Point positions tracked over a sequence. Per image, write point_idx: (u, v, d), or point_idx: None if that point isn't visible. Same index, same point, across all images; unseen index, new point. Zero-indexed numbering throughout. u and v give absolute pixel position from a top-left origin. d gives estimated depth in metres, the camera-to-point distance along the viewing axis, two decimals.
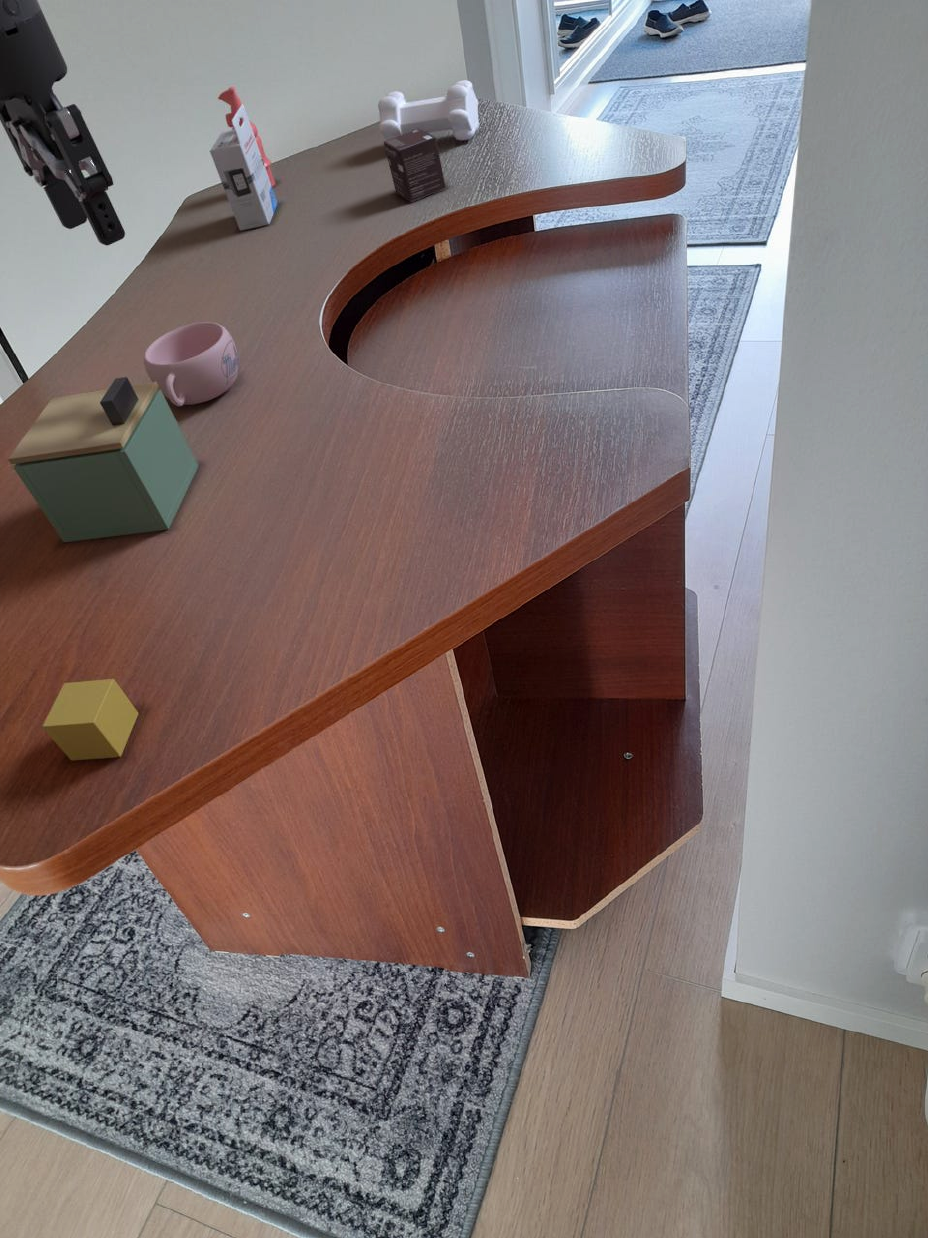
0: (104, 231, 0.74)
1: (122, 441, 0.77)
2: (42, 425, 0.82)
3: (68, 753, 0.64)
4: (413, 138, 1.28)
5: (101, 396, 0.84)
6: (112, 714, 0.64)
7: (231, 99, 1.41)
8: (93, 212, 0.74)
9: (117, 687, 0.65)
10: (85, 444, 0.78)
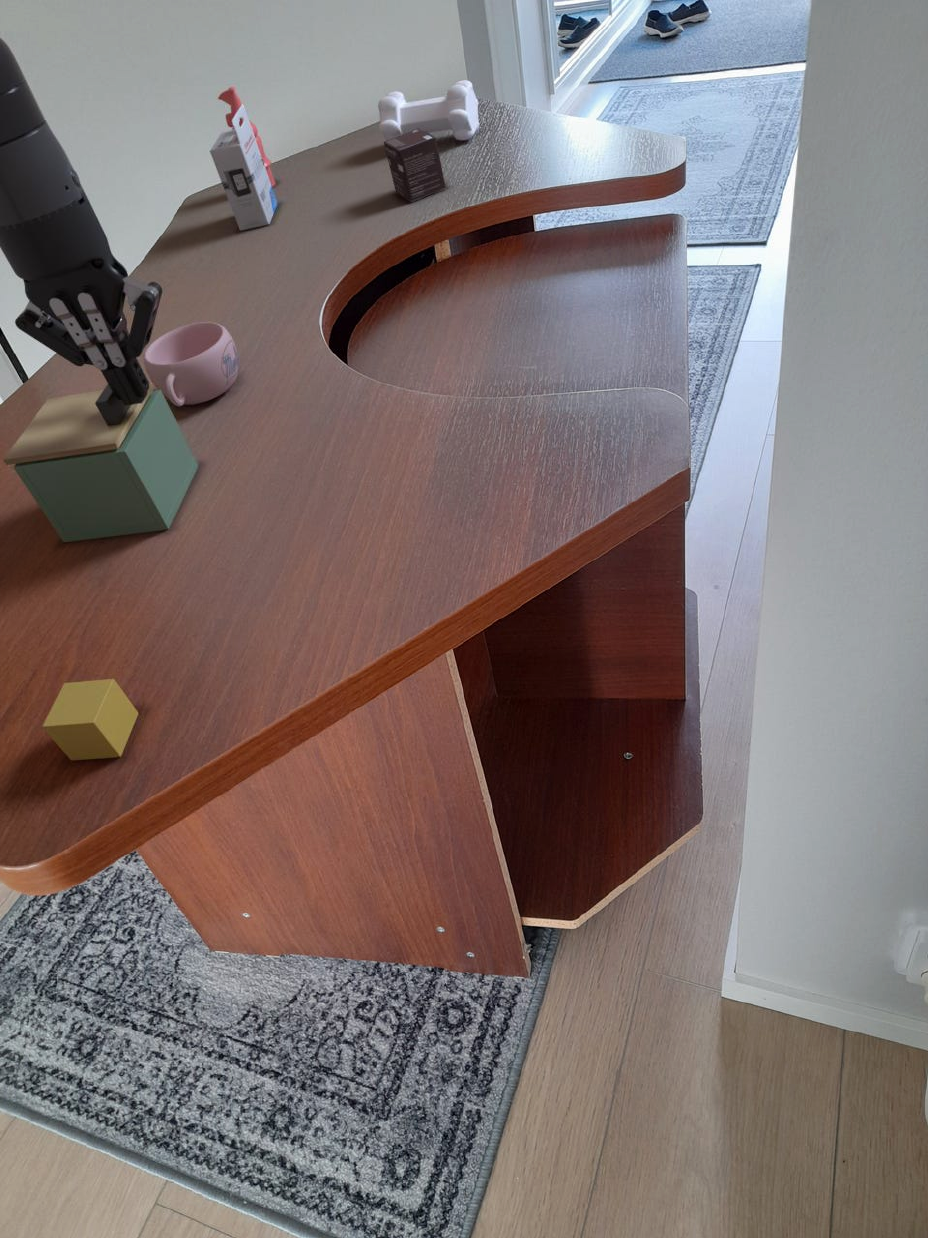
0: (142, 389, 0.78)
1: (117, 442, 0.77)
2: (38, 426, 0.82)
3: (68, 753, 0.64)
4: (412, 138, 1.28)
5: (97, 397, 0.84)
6: (112, 714, 0.64)
7: (231, 99, 1.41)
8: (130, 374, 0.77)
9: (117, 687, 0.65)
10: (80, 445, 0.78)
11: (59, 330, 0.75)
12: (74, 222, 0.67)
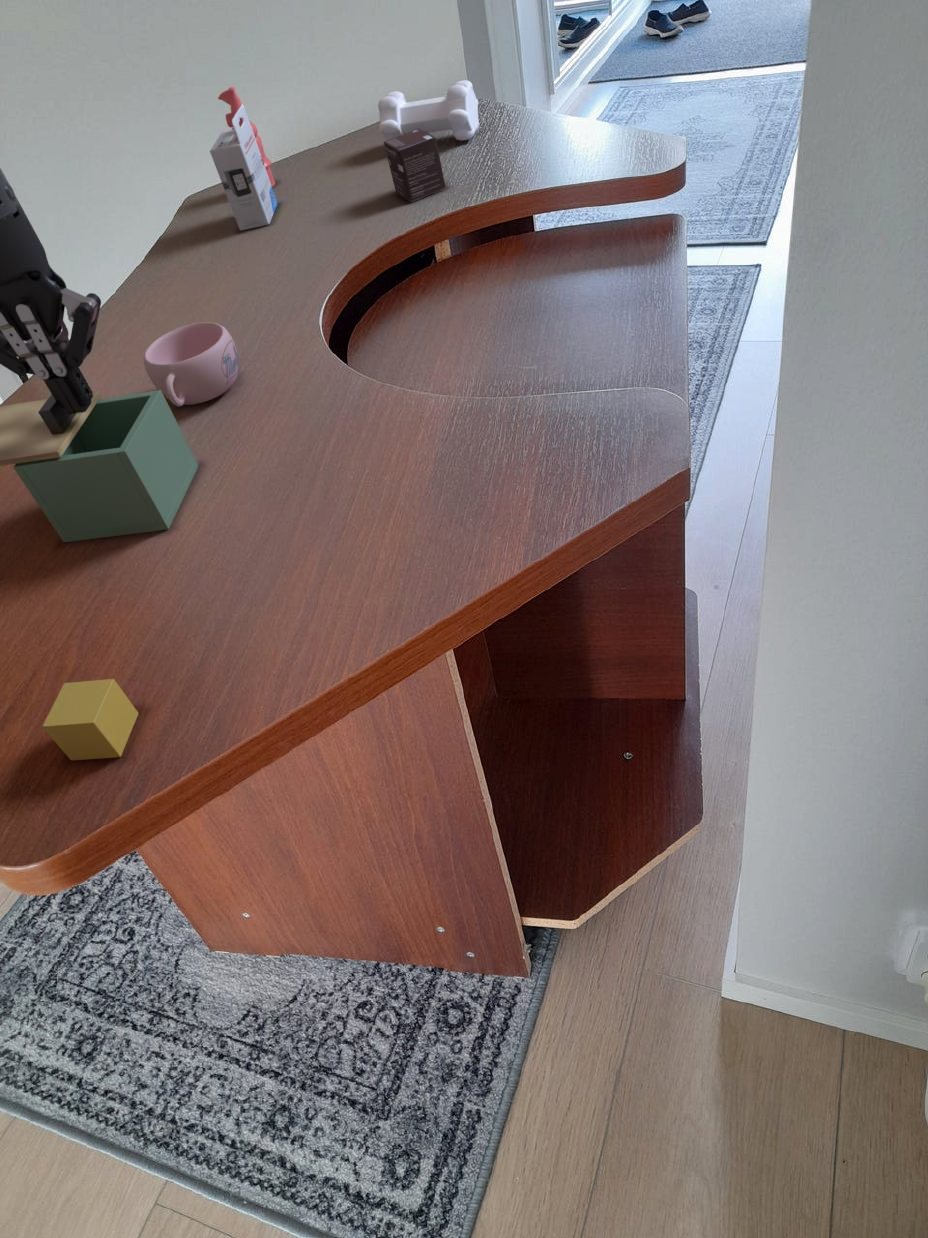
0: (84, 398, 0.79)
1: (59, 451, 0.78)
2: None
3: (68, 753, 0.64)
4: (412, 138, 1.28)
5: None
6: (112, 714, 0.64)
7: (231, 99, 1.41)
8: (72, 384, 0.78)
9: (117, 687, 0.65)
10: (24, 453, 0.79)
11: (1, 340, 0.76)
12: (9, 235, 0.68)
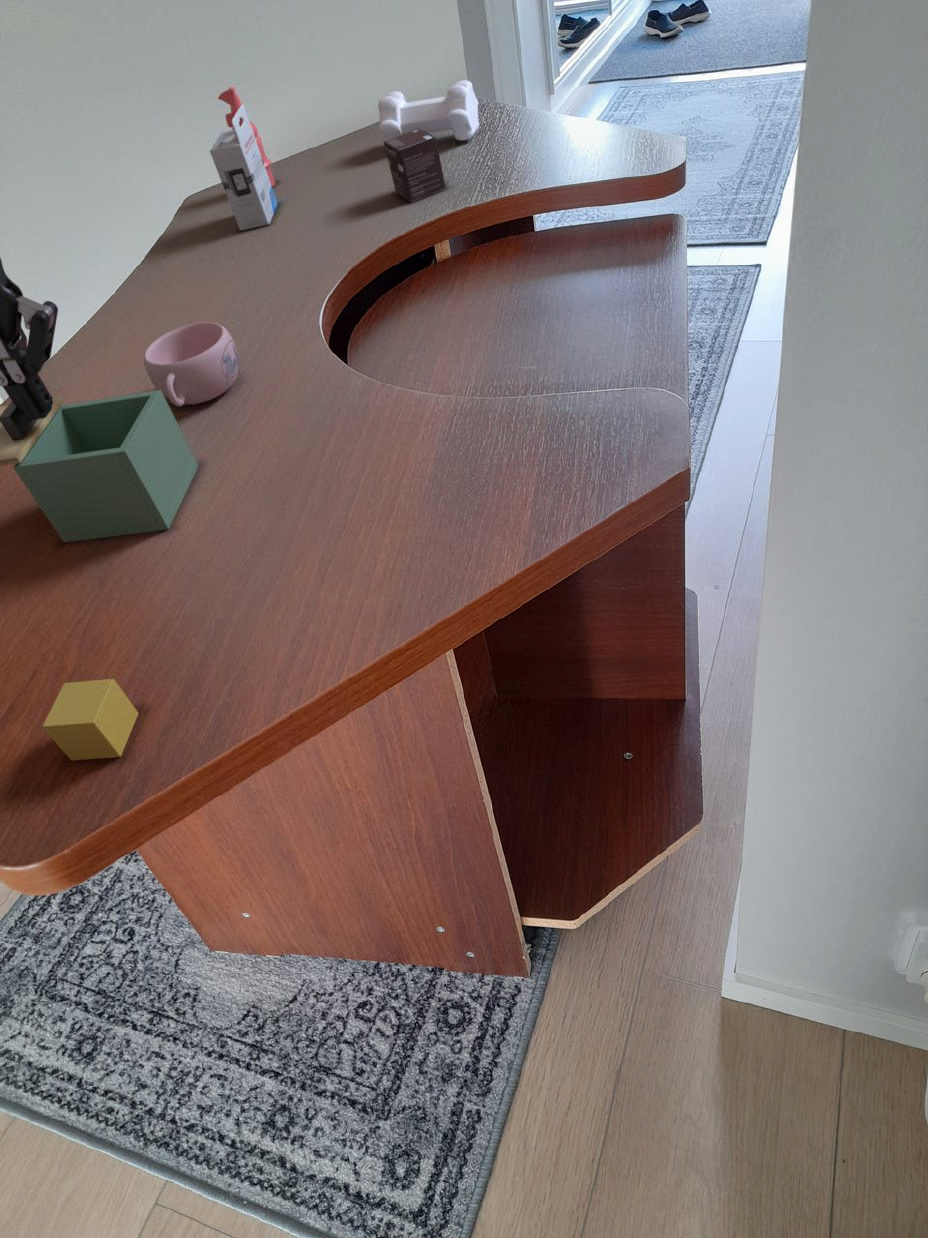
0: (44, 404, 0.80)
1: (19, 457, 0.79)
2: None
3: (68, 753, 0.64)
4: (412, 138, 1.28)
5: None
6: (112, 714, 0.64)
7: (231, 99, 1.41)
8: (32, 390, 0.79)
9: (117, 687, 0.65)
10: None
11: None
12: None
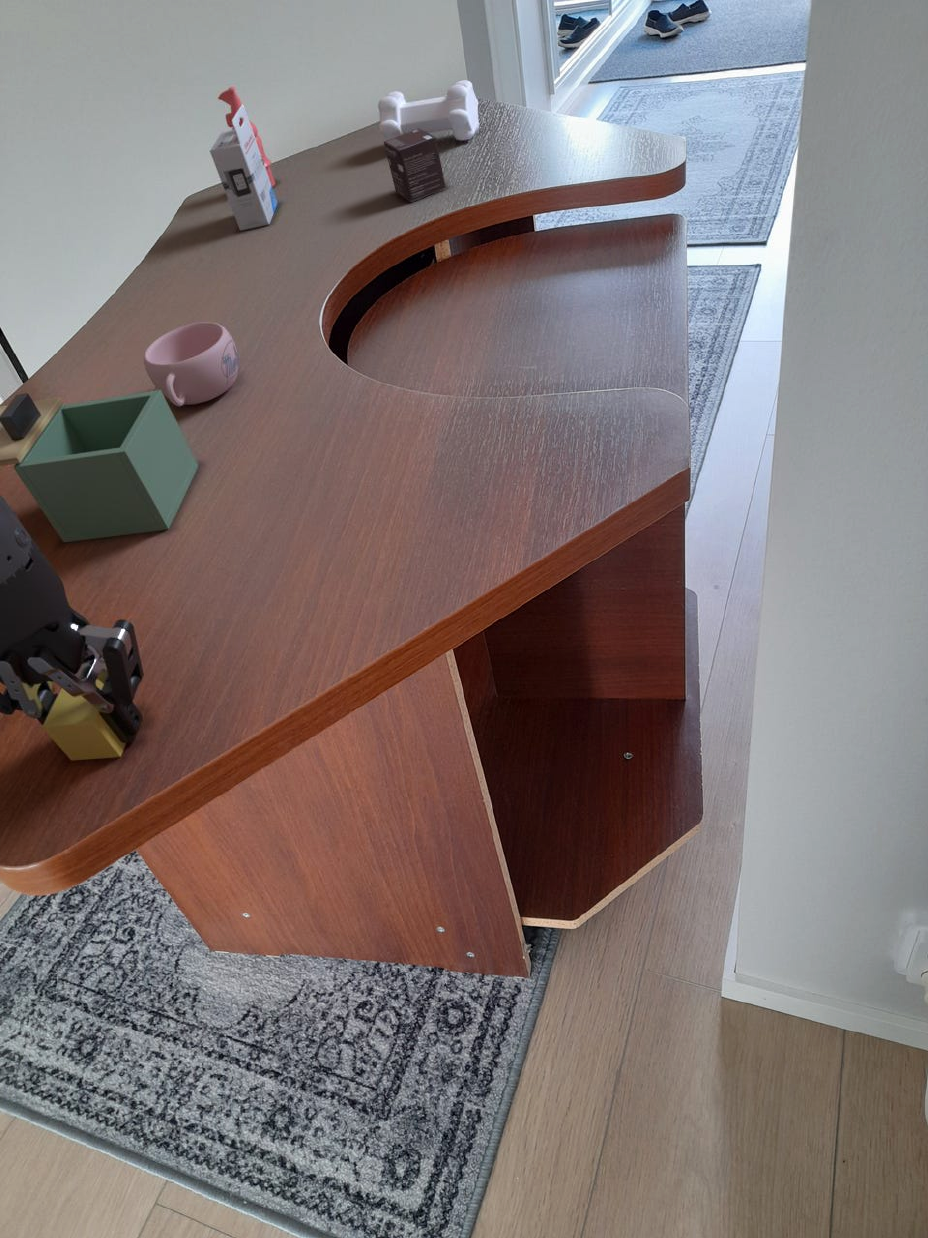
0: (134, 729, 0.64)
1: (19, 457, 0.79)
2: None
3: (68, 753, 0.64)
4: (413, 138, 1.28)
5: None
6: None
7: (231, 99, 1.41)
8: (120, 716, 0.63)
9: None
10: None
11: None
12: (20, 594, 0.53)
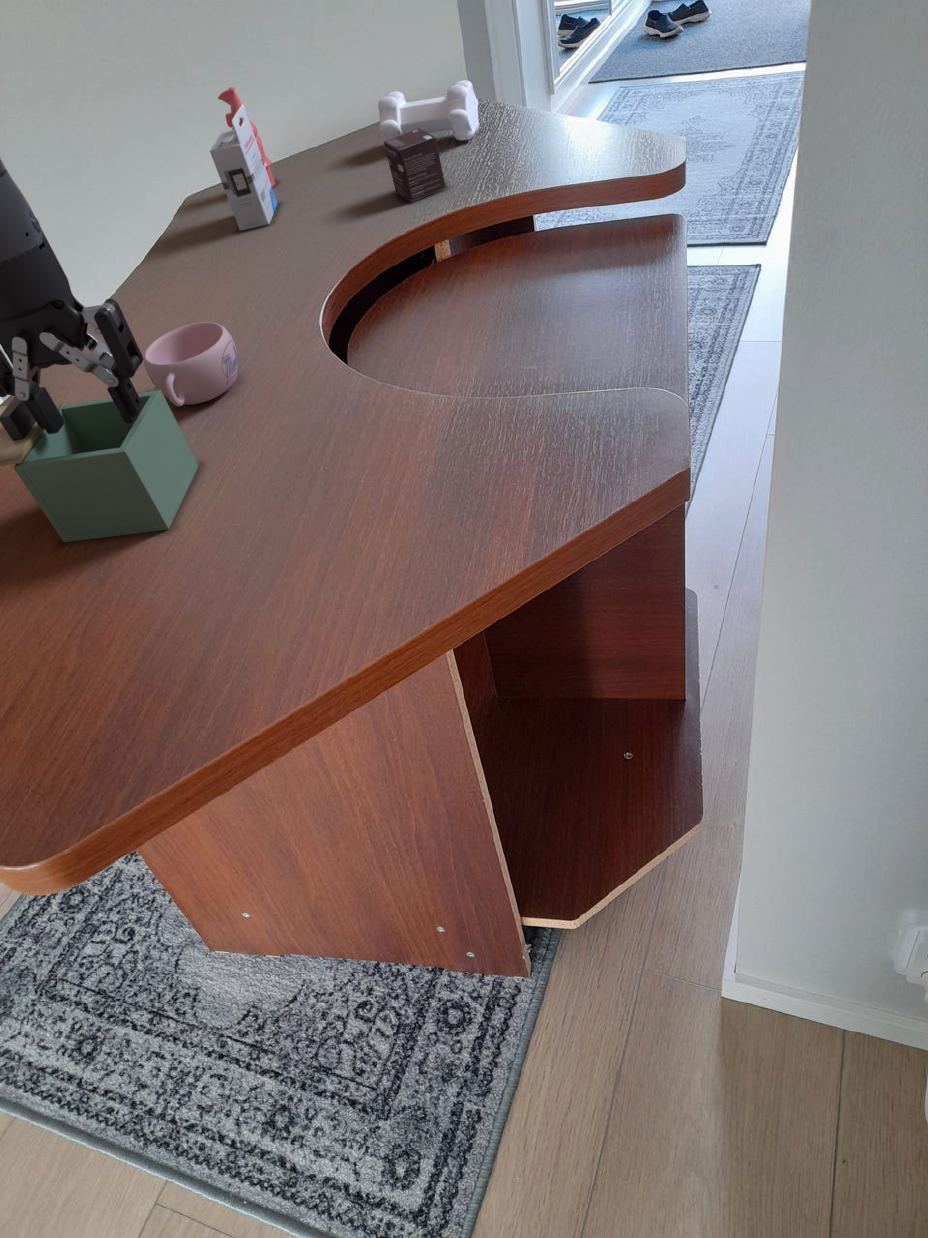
0: (135, 408, 0.79)
1: (19, 457, 0.79)
2: None
3: None
4: (412, 138, 1.28)
5: None
6: None
7: (231, 99, 1.41)
8: (123, 394, 0.78)
9: None
10: None
11: None
12: (35, 266, 0.70)
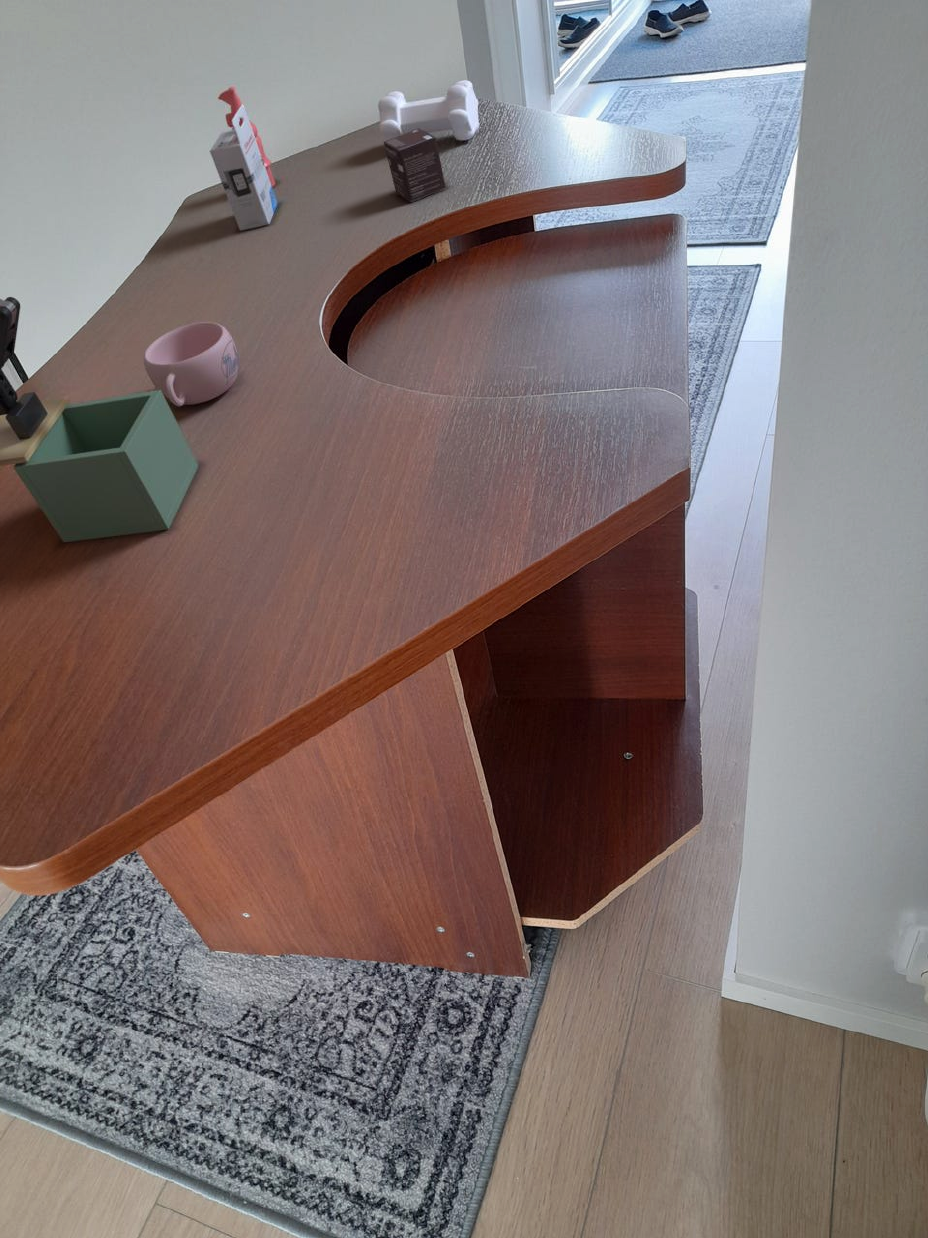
0: (8, 400, 0.80)
1: (26, 456, 0.79)
2: None
3: None
4: (412, 138, 1.28)
5: None
6: None
7: (231, 99, 1.41)
8: None
9: None
10: None
11: None
12: None
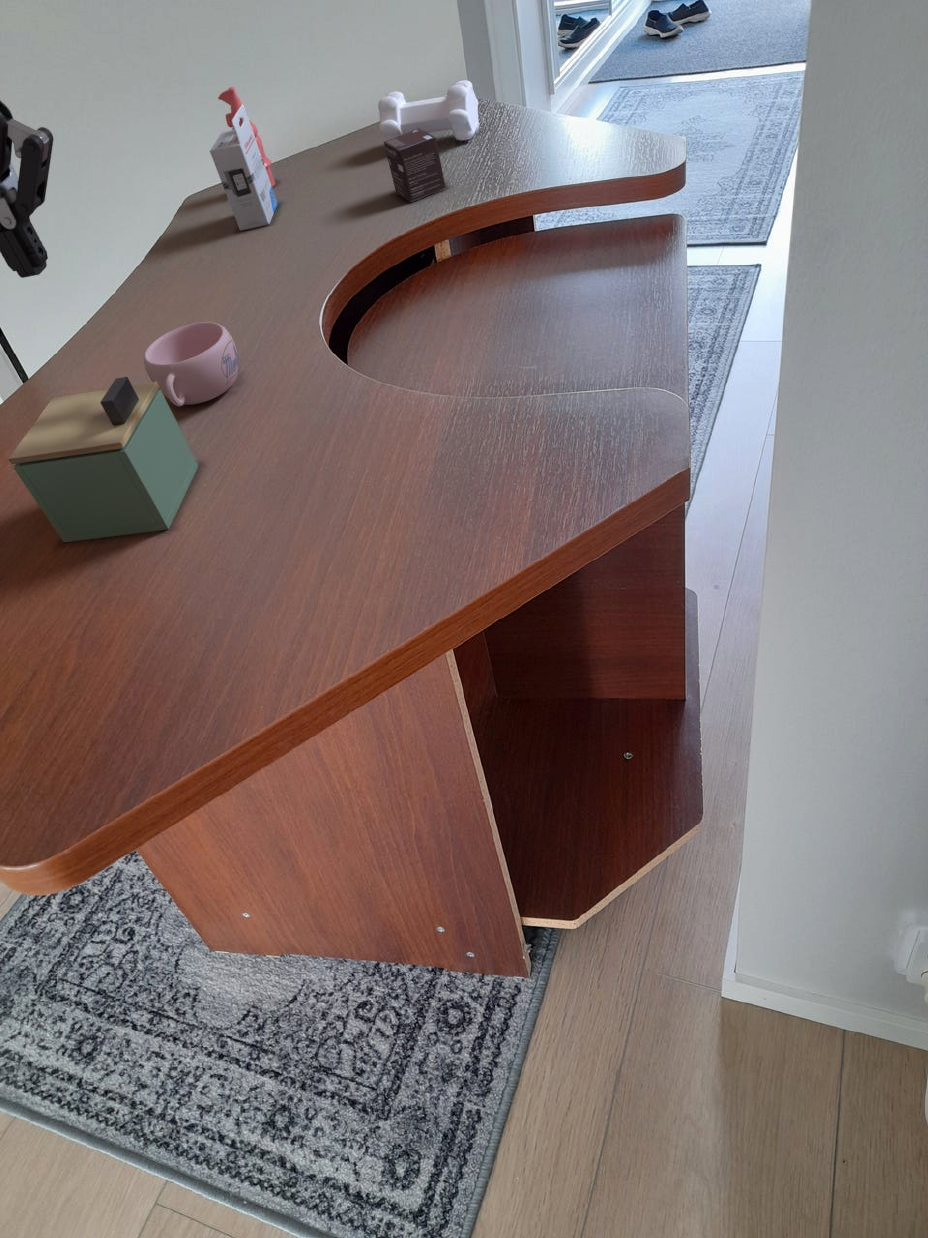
0: (37, 257, 0.70)
1: (122, 441, 0.77)
2: (42, 425, 0.82)
3: None
4: (412, 138, 1.28)
5: (101, 396, 0.84)
6: None
7: (231, 99, 1.41)
8: (23, 239, 0.69)
9: None
10: (86, 444, 0.78)
11: None
12: None
